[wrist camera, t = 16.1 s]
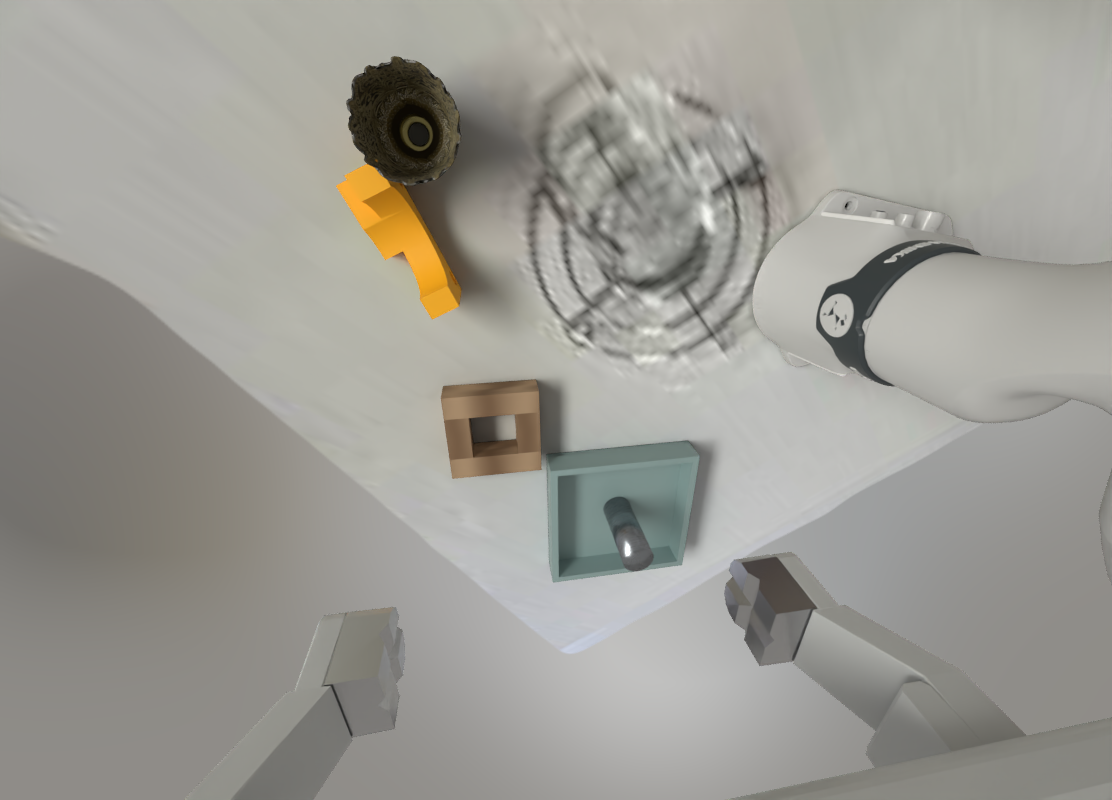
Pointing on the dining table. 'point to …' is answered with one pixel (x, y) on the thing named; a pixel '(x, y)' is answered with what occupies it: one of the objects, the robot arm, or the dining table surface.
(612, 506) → the pin
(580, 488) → the tray
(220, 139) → the dining table surface
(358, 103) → the cup
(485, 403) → the pin holder
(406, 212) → the pipe clamp
